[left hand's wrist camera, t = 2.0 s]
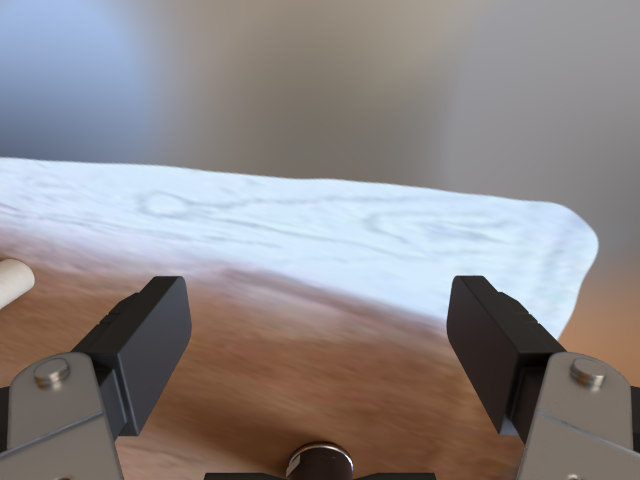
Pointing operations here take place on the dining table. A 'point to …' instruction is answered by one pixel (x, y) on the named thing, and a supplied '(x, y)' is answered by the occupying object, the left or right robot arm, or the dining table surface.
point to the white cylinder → (14, 280)
